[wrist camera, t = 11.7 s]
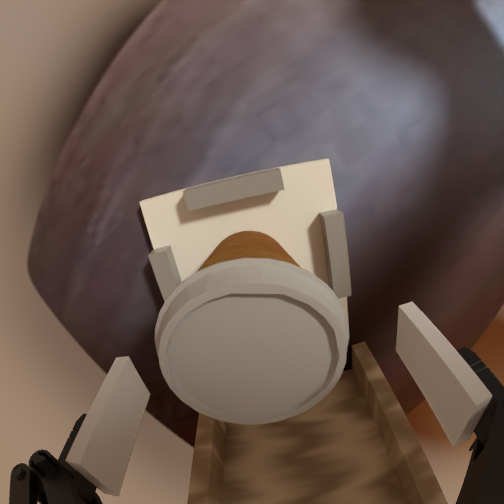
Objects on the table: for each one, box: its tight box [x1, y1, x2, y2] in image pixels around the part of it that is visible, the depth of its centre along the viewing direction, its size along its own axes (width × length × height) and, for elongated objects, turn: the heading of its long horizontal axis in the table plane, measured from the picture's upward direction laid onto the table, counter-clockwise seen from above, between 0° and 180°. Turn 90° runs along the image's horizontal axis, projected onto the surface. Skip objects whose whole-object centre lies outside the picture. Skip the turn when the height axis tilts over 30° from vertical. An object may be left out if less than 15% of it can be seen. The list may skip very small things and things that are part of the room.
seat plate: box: [140, 159, 351, 319], centre depth 23 cm, size 15×15×2 cm
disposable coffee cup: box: [155, 231, 349, 425], centre depth 18 cm, size 10×10×12 cm
